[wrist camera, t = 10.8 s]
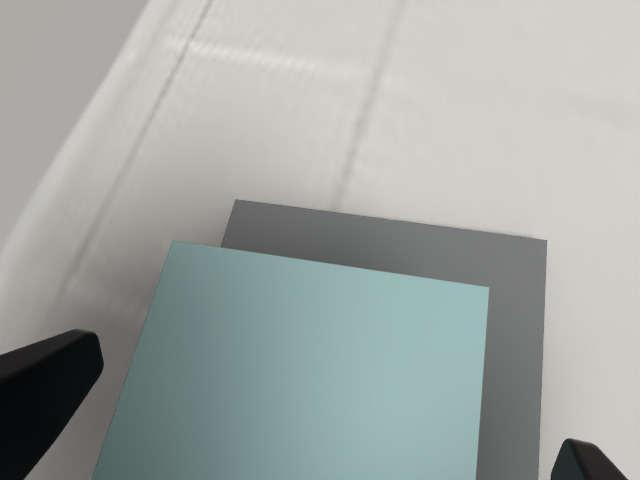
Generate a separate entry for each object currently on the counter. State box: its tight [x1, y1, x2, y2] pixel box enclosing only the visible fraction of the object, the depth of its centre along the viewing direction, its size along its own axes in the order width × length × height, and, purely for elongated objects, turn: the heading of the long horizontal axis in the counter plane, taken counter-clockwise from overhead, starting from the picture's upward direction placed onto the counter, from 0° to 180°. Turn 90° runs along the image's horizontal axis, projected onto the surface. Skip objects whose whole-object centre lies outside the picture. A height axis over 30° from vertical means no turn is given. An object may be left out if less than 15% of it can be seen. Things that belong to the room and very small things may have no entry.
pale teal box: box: [91, 240, 489, 480], centre depth 11 cm, size 6×6×9 cm
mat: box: [221, 200, 547, 480], centre depth 15 cm, size 16×13×1 cm
